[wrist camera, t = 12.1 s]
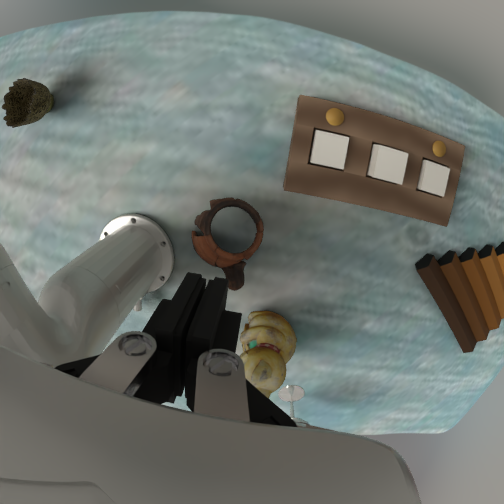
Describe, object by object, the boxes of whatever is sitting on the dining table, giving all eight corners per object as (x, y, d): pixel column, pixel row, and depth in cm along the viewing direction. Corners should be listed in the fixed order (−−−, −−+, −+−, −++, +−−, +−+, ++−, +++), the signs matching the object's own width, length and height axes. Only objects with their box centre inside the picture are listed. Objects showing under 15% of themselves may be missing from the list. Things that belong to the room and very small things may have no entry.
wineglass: (296, 377, 51) (299, 429, 39) (315, 395, 52) (321, 444, 41) (266, 391, 52) (264, 442, 41) (286, 408, 54) (287, 457, 43)
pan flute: (411, 264, 42) (459, 346, 48) (419, 273, 39) (466, 356, 44) (506, 170, 35) (537, 269, 40) (518, 173, 32) (546, 275, 37)
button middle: (394, 181, 35) (402, 184, 33) (366, 174, 35) (373, 177, 33) (400, 152, 33) (408, 153, 31) (372, 144, 33) (379, 144, 31)
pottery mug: (180, 214, 42) (185, 204, 34) (241, 197, 44) (260, 184, 37) (206, 295, 43) (217, 303, 35) (265, 274, 45) (288, 277, 37)
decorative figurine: (240, 302, 46) (227, 370, 32) (295, 300, 45) (302, 368, 31) (246, 351, 49) (237, 420, 35) (295, 349, 48) (300, 419, 34)
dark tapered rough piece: (66, 115, 36) (33, 115, 29) (36, 131, 37) (4, 135, 30) (62, 74, 34) (30, 69, 26) (32, 93, 34) (0, 91, 27)
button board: (437, 220, 39) (447, 227, 36) (283, 186, 39) (284, 190, 36) (454, 144, 34) (465, 146, 31) (298, 98, 34) (300, 94, 31)
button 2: (338, 167, 36) (343, 169, 34) (308, 161, 36) (311, 162, 34) (344, 137, 35) (349, 137, 32) (313, 130, 35) (316, 129, 32)
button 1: (435, 193, 36) (443, 196, 34) (412, 186, 36) (420, 189, 34) (441, 166, 35) (450, 168, 32) (418, 158, 35) (427, 160, 32)
